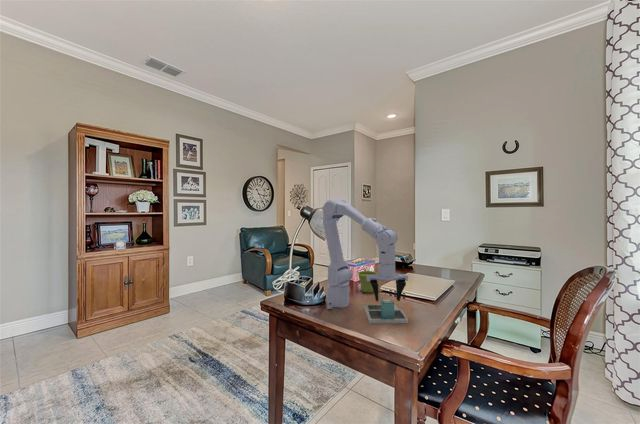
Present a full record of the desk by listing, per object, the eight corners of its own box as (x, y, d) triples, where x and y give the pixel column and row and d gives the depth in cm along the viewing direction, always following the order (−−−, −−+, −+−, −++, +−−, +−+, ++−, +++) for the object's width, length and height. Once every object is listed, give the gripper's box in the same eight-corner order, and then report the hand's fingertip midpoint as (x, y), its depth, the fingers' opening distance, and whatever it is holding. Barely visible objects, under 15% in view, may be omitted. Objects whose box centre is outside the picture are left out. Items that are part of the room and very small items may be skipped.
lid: (366, 315, 99) (366, 312, 99) (363, 306, 108) (363, 304, 108) (401, 314, 99) (401, 312, 99) (395, 306, 107) (395, 303, 107)
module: (383, 320, 93) (382, 303, 93) (380, 315, 97) (380, 298, 97) (394, 320, 93) (394, 302, 93) (391, 315, 97) (391, 298, 97)
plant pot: (353, 290, 128) (353, 272, 128) (367, 286, 133) (367, 269, 133) (367, 295, 120) (367, 277, 120) (381, 291, 125) (381, 273, 125)
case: (369, 325, 91) (369, 319, 91) (366, 314, 99) (365, 309, 99) (408, 325, 91) (408, 319, 91) (401, 314, 99) (401, 309, 99)
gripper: (368, 266, 91) (369, 304, 91) (410, 265, 90) (411, 304, 91) (365, 261, 98) (366, 297, 98) (404, 260, 97) (405, 296, 98)
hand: (387, 300), depth 95 cm, fingers open, 7 cm apart
